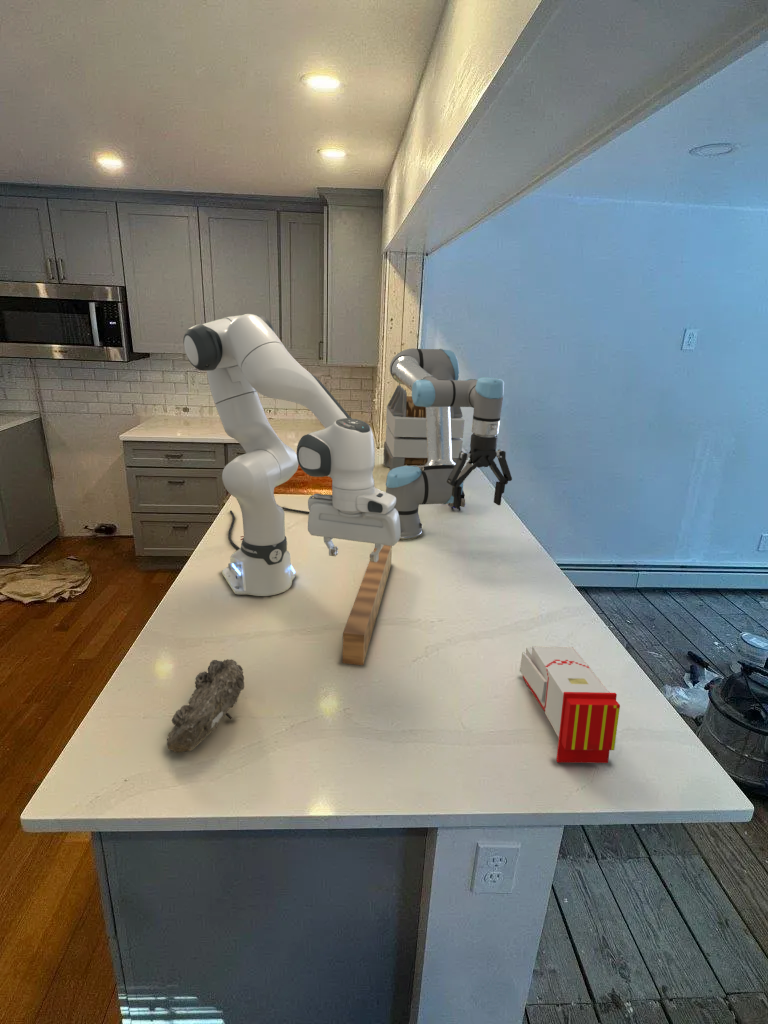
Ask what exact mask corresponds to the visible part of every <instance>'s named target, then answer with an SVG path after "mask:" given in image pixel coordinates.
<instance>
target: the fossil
mask: <svg viewBox="0 0 768 1024" xmlns="http://www.w3.org/2000/svg"><path fill="white" fill-rule="evenodd" d="M243 670H244V669H243V667H242V665H240V664H237V662H236V661H235V660H234V659H232V658H231V659H227V658H226V659H224V660H223V661H222V660H217V659H212V660H211V661H210V663H209V665H208V666H207V671H201V672H199V673H198V674H197V675H196V676H195V680H194V684H195V685H194V687H195V689H194V690H193V693H192V694H191V697H190V698H189V700H188V704H184V705H182V706H181V707H180V709H177V710H176V711H175V713H174V715H173V716H172V718H171V723H172V724H173V727H172V730H171V731H170V732H168V734H167V738H166V741H167V742H166V745H167V749H168V750H169V751H173V752H174V753H176V754H178V753H182V752H188V751H189V752H192V751H193V750H195V748H196V747H197V746H199V744H200V743H201V742H203V741H204V740H205V739H206V738H207V737H208V736H209V735H210V734H211V733H212V732H214V730H215V729H217V727H218V726H219V724H220V722H221V721H222V720H223V719H224V718H225V716H226V717H227V719H229V720H233V717H232V715H230V714H229V710H230V709H231V708H234V706H235V704H236V703H237V702H238V699H239V697H240V695H241V693H242V691H243V690H245V689H244V688H245V675H244V671H243Z"/></svg>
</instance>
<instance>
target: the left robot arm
mask: <svg viewBox="0 0 768 1024" xmlns="http://www.w3.org/2000/svg"><path fill="white" fill-rule="evenodd" d="M182 339H183V341H182V343H183V349H184V352H185V355H186V357H187V360H188V361H189V363H190V364H191V365H192V366H193V367H194V368H195V369H197V370H198V371H203V372H204V371H205V372H206V376H207V381H208V387H209V390H210V393H211V397H212V400H213V402H214V405H215V409H216V411H217V413H218V416H219V419H220V421H221V424H222V427H223V430H224V432H225V434H227V436H229V437H230V438H231V439H234V440H235V441H237V442H238V444H239V445H240V446H241V447H242V449H243V450H244V452H245V453H243V454H240V455H238V456H236V457H235V458H233V459H232V460H231V461H230V462H228V463H227V464H226V465H225V466H224V468H223V470H222V474H221V481H222V484H223V487H224V488H225V490H226V491H227V492H228V494H229V495H230V496H232V497H233V498H235V499H236V502H237V503H238V505H239V508H240V512H241V516H242V530H243V535H240V541H241V543H240V547H239V546H238V545H237V544H236V543H234V541H233V540H232V530H233V527H234V524H235V521H236V517H235V514H234V512H233V510H231V509H230V510H229V513H230V515H231V517H232V520H231V524H230V526H229V529H228V532H227V539H228V541H229V543H230V544H231V546H232V547H233V548H234V549H236V551H235V552H233V553H232V554H231V555H230V558H229V562H228V564H227V567H225V568H223V569H222V570H221V571H222V572H221V574H222V576H223V577H224V579H225V581H226V582H227V585H229V587H230V588H231V590H232V592H233V593H234V594H235V595H238V596H239V595H242V596H243V595H249V596H256V597H269V596H275V595H279V594H282V593H285V592H286V591H288V590H289V589H290V588H291V587H292V584H293V580H295V578H296V570H295V569H294V567H293V565H292V558H291V552H290V551H288V539H287V536H286V523H285V522H286V521H285V520H286V519H285V518H286V517H285V515H286V514H285V510H283V509H282V507H283V506H281V505H279V504H278V503H277V502H276V501H277V500H276V498H275V488H276V487H279V486H280V485H282V484H285V483H286V482H288V481H289V480H290V479H291V478H292V477H293V476H294V474H296V472H297V471H298V469H299V467H300V469H301V470H302V471H303V472H304V473H305V474H306V475H308V476H310V477H313V478H323V477H329V478H331V480H332V481H331V494H322V493H314V494H312V495H310V496H309V498H308V499H307V510H308V512H309V514H308V517H307V531H308V533H309V535H311V536H313V537H322V538H323V543H324V544H325V546H326V548H327V550H328V556H330V557H337V556H338V554H339V551H338V550H339V547H338V546H335V544H334V542H333V539H336V540H345V541H351V542H358V543H367V544H373V545H374V548H377V550H376V551H375V552H373V551H371V553H370V554H369V561H370V562H377V561H378V559H379V552H380V550H381V549H382V547H383V546H384V545H388V546H392V547H394V546H395V545H396V544H397V543H398V542H399V541H400V540H399V539H400V535H401V530H400V518H399V514H398V511H397V510H396V509H395V508H394V506H395V505H396V497H395V496H393V495H391V494H388V493H386V491H384V490H381V489H379V488H377V487H375V479H374V473H373V472H374V468H375V463H376V462H375V461H376V459H375V458H376V449H375V439H374V434H373V430H372V427H371V426H370V425H369V423H367V422H366V421H364V420H362V419H358V418H352V416H350V414H349V413H348V412H347V411H346V410H345V409H344V407H342V405H341V404H340V403H339V402H338V400H337V399H336V398H335V397H334V395H332V393H331V392H330V391H329V389H328V388H326V386H325V384H323V383H322V381H321V380H320V379H319V378H318V377H317V376H315V375H314V374H313V373H312V372H310V371H309V370H307V369H306V368H305V367H304V366H302V364H300V363H299V362H298V361H297V360H296V358H294V357H293V356H292V354H291V353H290V352H289V351H288V349H287V348H286V346H285V345H284V344H283V342H282V341H281V338H279V336H278V335H277V334H276V333H275V330H274V326H273V324H272V323H271V321H270V320H269V319H268V318H267V317H266V316H265V315H263V314H260V313H245V314H241V315H231V316H225V317H222V318H219V319H215V320H212V321H208V322H205V323H203V324H202V323H198V324H195V325H193V326H191V327H189V328H187V329H186V331H185V333H184V335H183V338H182ZM259 394H260V395H261V396H263V397H266V398H270V399H275V400H281V401H287V402H291V403H295V404H298V405H301V406H302V407H305V408H306V409H307V410H309V411H310V412H311V413H312V414H313V415H314V416H315V417H316V419H317V420H318V421H319V423H321V425H322V426H323V428H322V429H320V430H316V431H312V432H309V433H307V434H304V435H303V436H301V437H300V439H299V440H298V443H297V446H296V451H295V450H294V449H293V448H292V447H291V446H290V445H287V444H286V443H284V441H282V439H281V438H280V437H279V436H278V434H277V433H276V431H275V430H274V428H273V427H272V425H271V423H270V421H269V419H268V417H267V415H266V412H265V410H264V407H263V404H262V401H261V399H260V396H259Z"/></svg>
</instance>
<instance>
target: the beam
mask: <svg viewBox="0 0 768 1024" xmlns="http://www.w3.org/2000/svg"><path fill="white" fill-rule="evenodd" d="M376 550H377V548H375V547H373V550H372V552H375V551H376ZM392 554H393V546H388V545H384V546H383V547H382V549H381V550H380V552H379V559H378V561H377V562H370V560H369V562H368V564H367V567H366V570H365V572H364V575H363V578H362V580H361V583H360V585H359V588H358V591H357V594H356V597H355V599H354V601H353V605H352V607H351V610H350V613H349V615H348V619H347V621H346V624H345V626H344V629H343V632H342V664H347V665H354V666H355V665H356V666H364V663H365V660H366V656H367V653H368V649H369V646H370V642H371V638H372V635H373V631H374V628H375V624H376V620H377V617H378V614H379V610H380V606H381V602H382V600H383V595H384V592H385V588H386V584H387V581H388V577H389V574H390V570H391V567H392Z"/></svg>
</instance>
